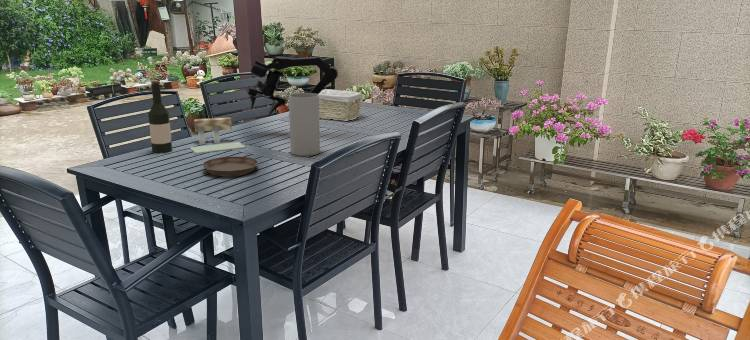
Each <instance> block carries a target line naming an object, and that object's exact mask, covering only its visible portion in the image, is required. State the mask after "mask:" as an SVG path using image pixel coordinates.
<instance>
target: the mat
mask: <svg viewBox="0 0 750 340" xmlns="http://www.w3.org/2000/svg"><path fill="white" fill-rule="evenodd" d="M246 147H247V146H245V145H244V144H243V143H242V142H240V141H237V142H235V141H233V142H225V143H215V144H208V145H199V146H191V147H189V149H190V150H191V151H192V152H193V154H195V155H197V154H205V153H214V152H221V151H223V152H224V151H230V150H231V151H233V150H241V149H246Z"/></svg>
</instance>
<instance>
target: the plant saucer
mask: <svg viewBox="0 0 750 340" xmlns="http://www.w3.org/2000/svg"><path fill="white" fill-rule="evenodd" d="M258 164H259V161H258V160H257V159H256V158H252V157H249V156H248V157H247V156H238V155H237V156H236V155H234V156H221V157H215V158H212V159H211V158H210V159H208V160H205V161H204V162H203V163H202V167H203V169H204V170H205V171H206V172H208V173H209V174H211V175H213V176H217V177H236V176H237V177H238V176H244V175H247V174H249V173H252V172H253V171H254V170H255V169H256V168H257V166H258ZM243 174H244V175H243Z"/></svg>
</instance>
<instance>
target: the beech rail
mask: <svg viewBox="0 0 750 340" xmlns="http://www.w3.org/2000/svg"><path fill="white" fill-rule="evenodd" d="M193 121H194V132H195V133H198V126H204V132H210V131H211V132H213V126H214V125H219V131H227V130H228V131H229V130H230V131H231V130H233V128H232V118H231V117H216V118H214V117H212V118H198V119H197V118H196V119H194V120H193Z"/></svg>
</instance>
